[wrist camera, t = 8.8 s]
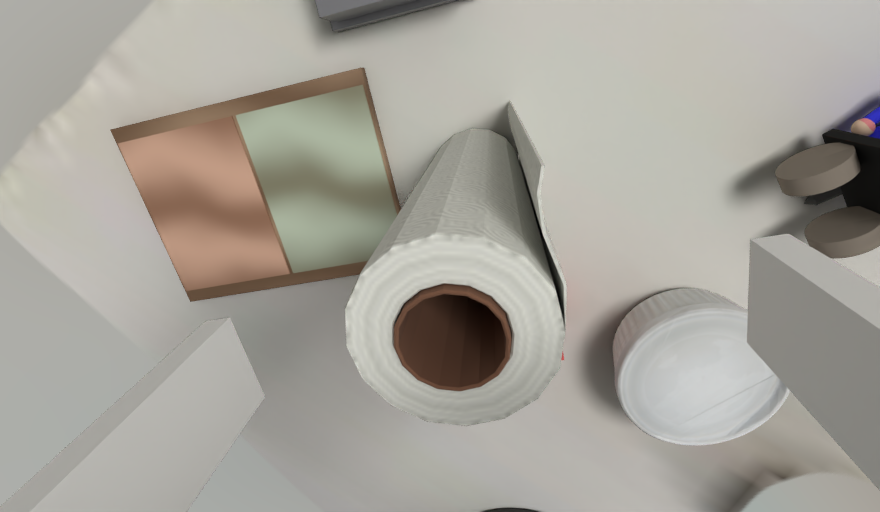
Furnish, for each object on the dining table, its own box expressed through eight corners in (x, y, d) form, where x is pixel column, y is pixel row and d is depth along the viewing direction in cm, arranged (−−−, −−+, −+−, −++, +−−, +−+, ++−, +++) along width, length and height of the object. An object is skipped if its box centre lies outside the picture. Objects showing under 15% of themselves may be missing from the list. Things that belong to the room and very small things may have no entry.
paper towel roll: (461, 228, 33) (416, 458, 14) (417, 156, 32) (295, 301, 12) (551, 179, 31) (650, 369, 12) (510, 100, 30) (545, 166, 10)
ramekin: (708, 414, 37) (740, 466, 33) (578, 376, 37) (591, 422, 33) (784, 299, 33) (835, 339, 28) (637, 256, 33) (662, 288, 28)
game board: (414, 261, 35) (412, 266, 34) (196, 297, 38) (189, 302, 37) (364, 67, 30) (360, 67, 29) (118, 128, 33) (109, 129, 32)
